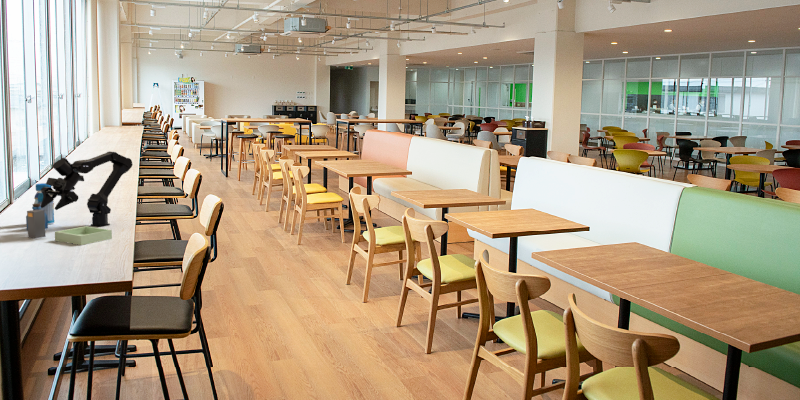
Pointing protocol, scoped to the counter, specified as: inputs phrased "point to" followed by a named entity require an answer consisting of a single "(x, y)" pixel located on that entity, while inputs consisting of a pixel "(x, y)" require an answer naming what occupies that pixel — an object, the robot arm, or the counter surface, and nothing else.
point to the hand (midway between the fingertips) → (48, 208)
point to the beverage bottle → (47, 209)
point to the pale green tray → (83, 235)
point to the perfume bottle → (37, 207)
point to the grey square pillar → (36, 223)
